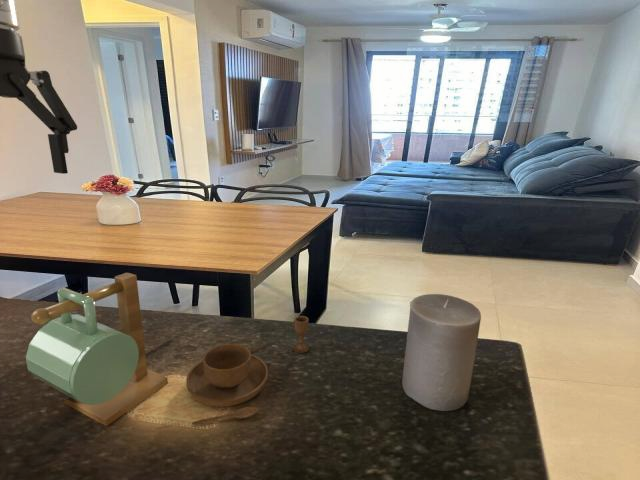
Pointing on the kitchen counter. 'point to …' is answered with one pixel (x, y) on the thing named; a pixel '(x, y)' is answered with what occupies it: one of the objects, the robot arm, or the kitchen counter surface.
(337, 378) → the kitchen counter surface
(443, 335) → the pillar candle
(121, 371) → the mug
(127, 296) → the mug stand
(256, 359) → the place setting
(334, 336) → the kitchen counter surface
